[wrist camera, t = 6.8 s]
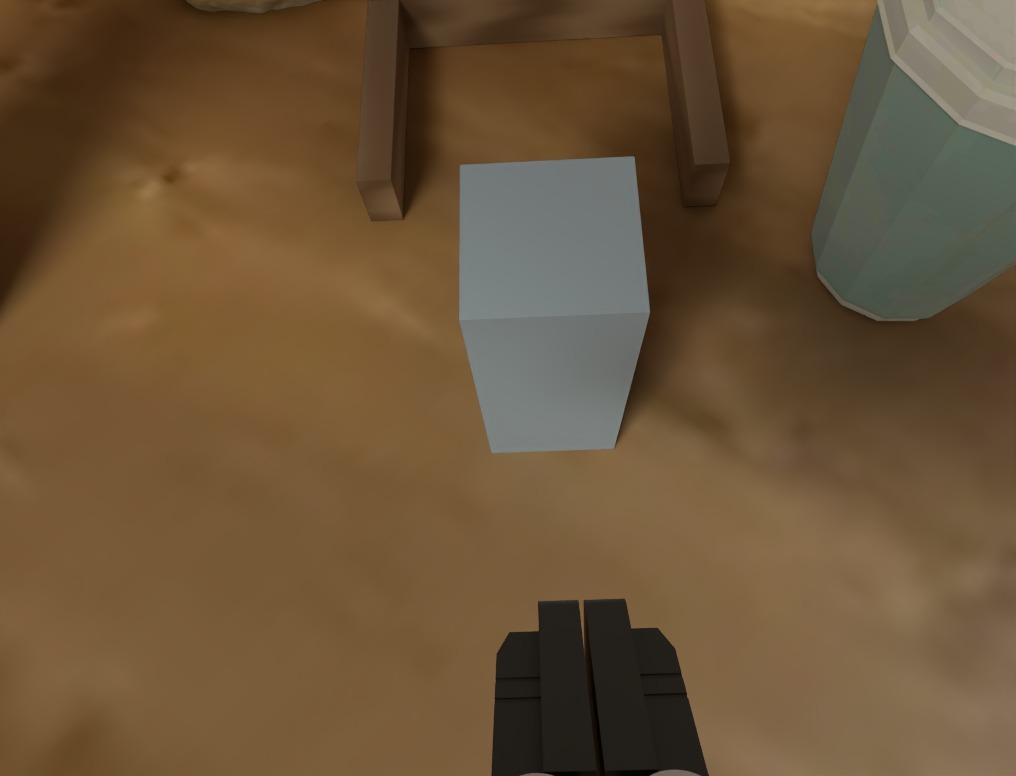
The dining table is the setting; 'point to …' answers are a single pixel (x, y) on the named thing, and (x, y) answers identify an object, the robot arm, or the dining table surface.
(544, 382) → the slate block
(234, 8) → the pastry
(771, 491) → the dining table surface
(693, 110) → the walnut bay
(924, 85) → the disposable coffee cup
